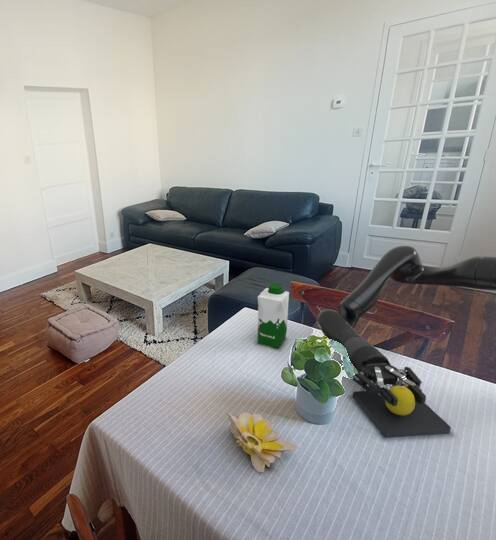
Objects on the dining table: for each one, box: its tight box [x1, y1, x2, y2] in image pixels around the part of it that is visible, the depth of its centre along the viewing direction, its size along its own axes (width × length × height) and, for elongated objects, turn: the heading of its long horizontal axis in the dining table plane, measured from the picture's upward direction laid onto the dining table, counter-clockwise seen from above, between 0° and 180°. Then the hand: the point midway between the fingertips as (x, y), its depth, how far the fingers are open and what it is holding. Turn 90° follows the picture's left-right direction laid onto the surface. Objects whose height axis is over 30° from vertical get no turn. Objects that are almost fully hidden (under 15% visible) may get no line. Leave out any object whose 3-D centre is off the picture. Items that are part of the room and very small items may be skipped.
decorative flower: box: [225, 410, 297, 473], centre depth 75 cm, size 15×11×10 cm
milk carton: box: [257, 283, 290, 350], centre depth 113 cm, size 9×9×20 cm
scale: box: [351, 380, 452, 438], centre depth 82 cm, size 15×14×4 cm
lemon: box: [385, 386, 415, 416], centre depth 79 cm, size 6×6×8 cm
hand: (409, 401), depth 75 cm, fingers closed on lemon, 5 cm apart
